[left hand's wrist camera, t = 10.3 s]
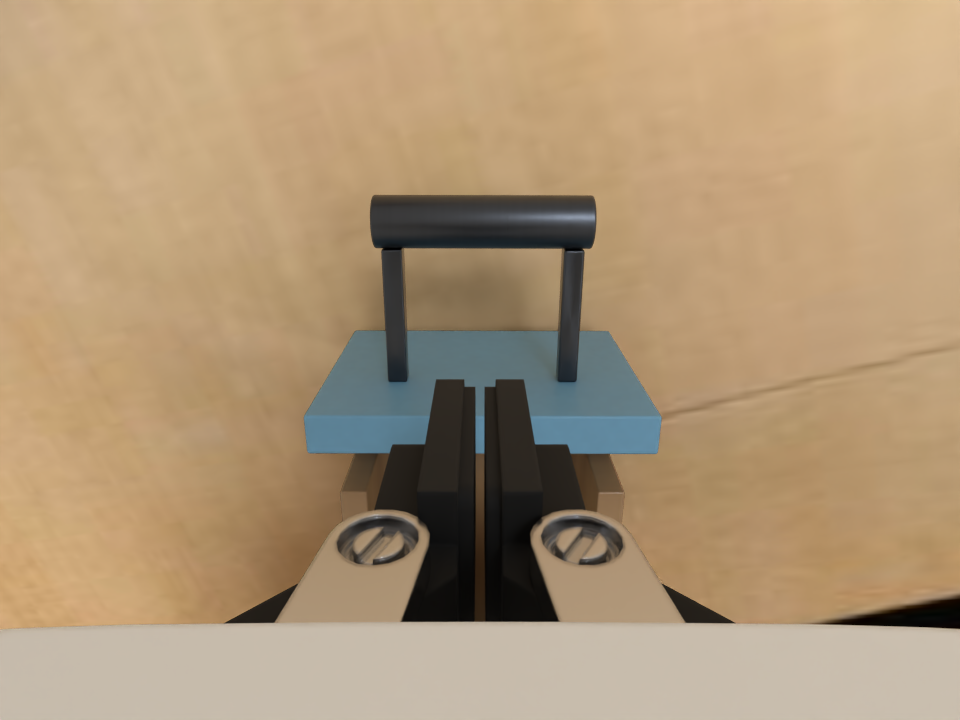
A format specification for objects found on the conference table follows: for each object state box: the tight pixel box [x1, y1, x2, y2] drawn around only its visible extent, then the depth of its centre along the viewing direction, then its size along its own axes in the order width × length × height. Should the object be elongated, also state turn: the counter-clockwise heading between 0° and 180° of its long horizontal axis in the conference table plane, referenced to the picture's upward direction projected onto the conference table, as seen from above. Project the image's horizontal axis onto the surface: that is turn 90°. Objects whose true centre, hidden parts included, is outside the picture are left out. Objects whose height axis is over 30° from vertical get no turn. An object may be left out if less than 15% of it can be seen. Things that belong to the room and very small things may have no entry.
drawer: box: [304, 195, 662, 622], centre depth 23 cm, size 22×10×8 cm, turn 0°
